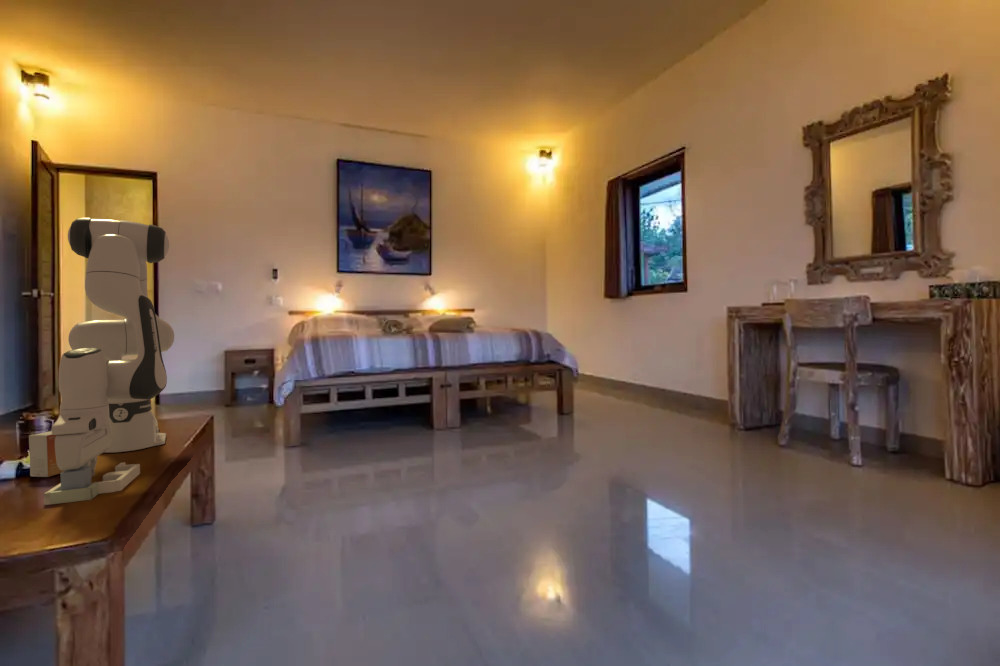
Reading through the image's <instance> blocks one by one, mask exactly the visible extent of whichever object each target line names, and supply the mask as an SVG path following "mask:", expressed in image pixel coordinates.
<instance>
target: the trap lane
mask: <svg viewBox="0 0 1000 666" xmlns="http://www.w3.org/2000/svg"><path fill="white" fill-rule="evenodd" d="M114 470H115V471H110V472H109V471H108V472H107V473H105V474H103V476H102V481H94V482H92V483H91V485H90V486H89V487H87V488H80V489H71V490H62V491H61V482H60V483H58V484H56V485H55V486H54V487H52V488H50V489H49V490H48V491H46V492H44V494H43V501H44V503H43V504H44V506H49V505H56V504H66V503H75V502H82V501H91V500H93V499H94V498H95V497H96V496H98V495H99V494H100V495H101V494H108V493H109V494H111V493H115V492H120V491H122V490H124V489H125V488H126V487H127V486H128V485H129V484H130V483H131V482H132V481H134V479H136V478H137V477H138V476H139V475H140V474H141V465H140V463H136V464H135V463H132V464H126V462H124V461H123V462H120V463H119V464H117V465H115V467H114Z"/></svg>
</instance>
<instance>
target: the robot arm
mask: <svg viewBox="0 0 1000 666" xmlns="http://www.w3.org/2000/svg"><path fill="white" fill-rule="evenodd" d="M166 233H167V232H166V231H165V230H164V229H163V228H162V227H160V226H157V225H154V224H151V223H150V224H144V223H141V222H137V221H131V220H125V219H124V220H123V219H121V220H119V219H118V220H117V219H116V220H115V219H107V218H106V219H102V218H92V217H79V218H76V219H75V220H73V221H72V222H71V225H70V227H69V229H68V231H67V241H68V244H69V246H70V249H71V251H72V252H74V253H75V254H76V255H78V256H81V257H83V258H86V259H88V260H87V263H86V271H85V277H84V279H85V280H84V289H85V295H86V296H87V298H88V300H89V301H90V302H91V303H92V304H93V305H94V306H95V307H97V308H99V309H101V310H103V311H106V312H108V313H111V314H114V315H117V316H121V317H123V318H124V319H95V320H93V319H92V320H88V321H82V322H77V323H76V324H74V326H73V327H72V328H71V330H70V331H69V333H68V340H67V341H68V345H69V346H70V348H71V349H70V350H68V351H66V352H64V353H63V354H62V355H61V356H60V360H59V367H58V391H59V394H60V397H61V398H60V399H61V402H60V405H59V415H58V417H57V419H56V421H55V422H54V423H53V424H52V425H51V431H52V435H57V436H56V438H55V454H56V462H57V466H58V467H59V469H60V470H71V469H78V468H80V467H86V466H91V479H92V478H93V477H94V476H96V466H97V462H98V456H100V455H101V454H103V453H111V454H112V453H122V452H130V451H131V452H132V451H137V450H142V449H146V448H147V449H148V448H151V447H156V446H161V445H165V443H166V440H167V433H166V432H160V428H159V427H158V426H159V425H158V424H159V423H158V420H157V418H156V416H155V414H153V412H152V408H153V407H152V399H154V398H156V397H157V396H158V395H160V393H162V392H163V391H164V390H165V389H166V387H167V383H168V382H167V381H168V377H167V376H168V375H167V371H166V367H165V364H164V359H163V355H162V353H163V352H167V351H168V350H169V349H170V348H171V347H172V345H173V344H174V341H175V331H174V330H173V327H172V326H171V325H170V324H169V323H168V322H167V321H165V320H164V319H162V318H161V317H160V316H158V315H157V314H156V311H155V307H154V304H153V302H152V299H150V298H149V295H148V294H149V293H148V265H147V263H148V264H152V263H153V264H154V263H159V262H161V261H162V260H165V259H166V255H167V254H168V252H169V249H170V240H169V237H168V236H167V234H166ZM126 356H137V357H136V358H135V359H123V357H126Z"/></svg>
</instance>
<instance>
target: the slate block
mask: <svg viewBox="0 0 1000 666" xmlns="http://www.w3.org/2000/svg"><path fill="white" fill-rule="evenodd" d="M59 476H60V483H61V491H62V490H71V489H80V488H87V487H89V486H90V485H91V484H92V478H91V466H86V467H80V468H78V469H71V470H65V471H63V472H62V473H60V475H59Z"/></svg>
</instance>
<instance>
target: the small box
mask: <svg viewBox="0 0 1000 666" xmlns="http://www.w3.org/2000/svg"><path fill="white" fill-rule="evenodd" d="M56 436H57V435H52V430H51V431H50V430H49V431H45V432H41V433H40V432H39V433H35V434H29V435H28V448H29V449H28V450H29V476H30V477H36V478H49V477H52V476H55V475H56V476H57V475H59V474H60V473H62V472H63V471H65V470H60V469H59V467H58V466H57V462H56V454H55V438H56Z"/></svg>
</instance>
